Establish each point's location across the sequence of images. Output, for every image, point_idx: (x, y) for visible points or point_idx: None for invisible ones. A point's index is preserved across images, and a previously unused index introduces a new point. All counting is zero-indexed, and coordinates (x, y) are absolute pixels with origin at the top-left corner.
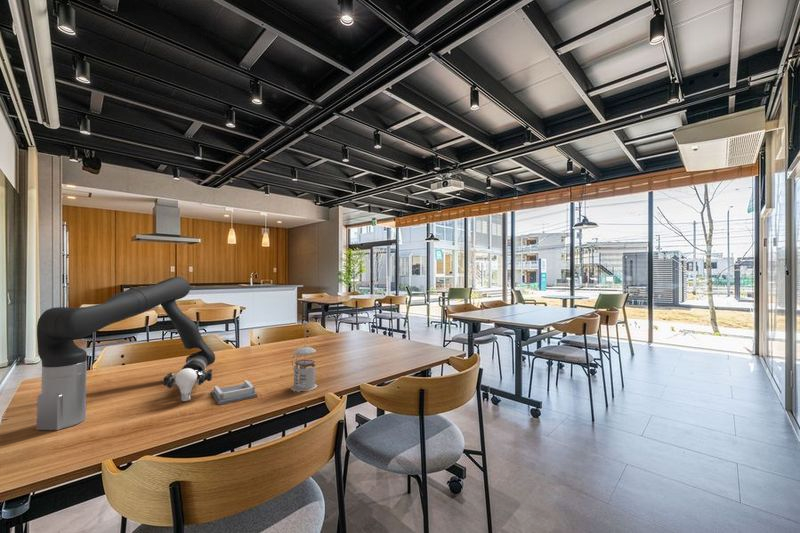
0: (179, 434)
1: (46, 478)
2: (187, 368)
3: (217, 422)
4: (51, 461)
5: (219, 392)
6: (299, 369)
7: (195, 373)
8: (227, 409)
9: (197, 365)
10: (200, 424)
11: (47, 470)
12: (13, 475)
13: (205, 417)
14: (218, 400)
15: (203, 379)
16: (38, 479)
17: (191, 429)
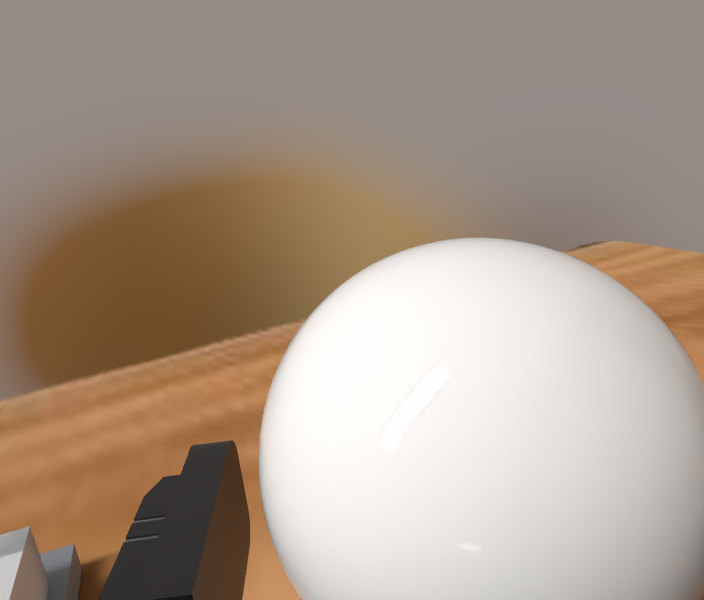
0: None
1: (569, 251)
2: (441, 247)
3: (163, 379)
4: (653, 272)
5: (7, 577)
6: None
7: (277, 369)
8: (57, 487)
9: None
10: (241, 373)
11: (607, 260)
12: (679, 253)
13: (215, 417)
14: (65, 581)
15: (151, 504)
16: (585, 250)
17: (276, 350)
